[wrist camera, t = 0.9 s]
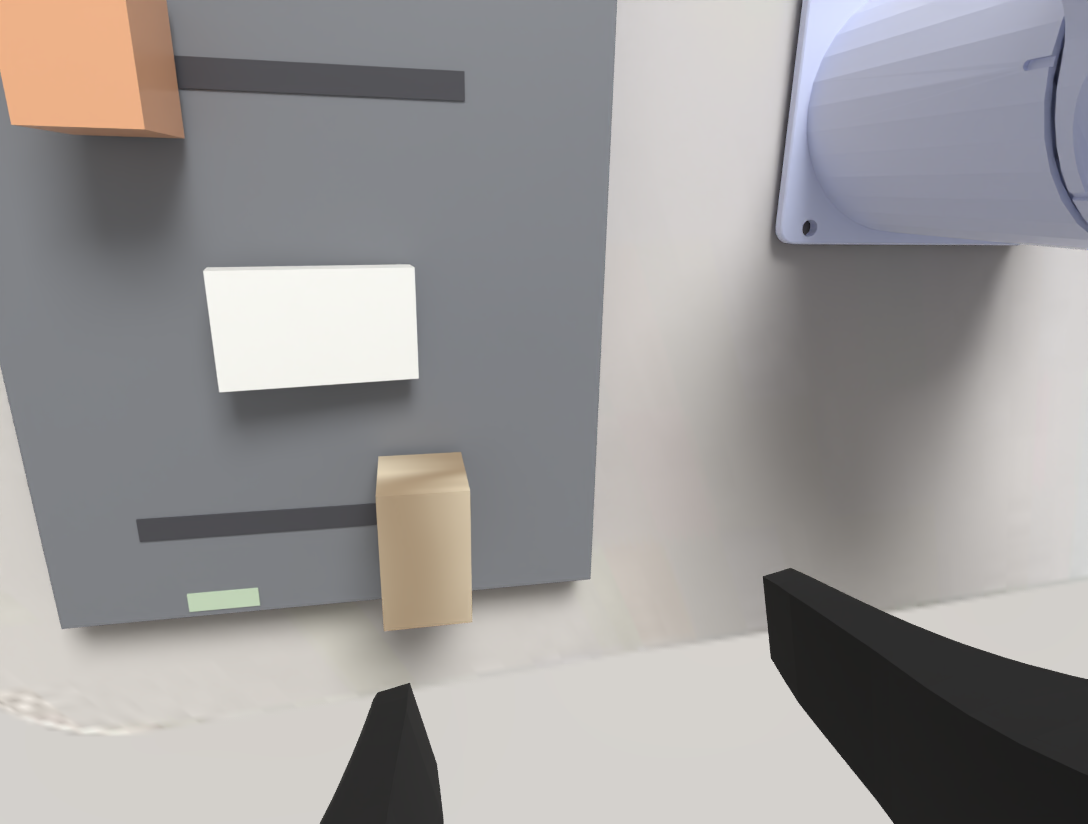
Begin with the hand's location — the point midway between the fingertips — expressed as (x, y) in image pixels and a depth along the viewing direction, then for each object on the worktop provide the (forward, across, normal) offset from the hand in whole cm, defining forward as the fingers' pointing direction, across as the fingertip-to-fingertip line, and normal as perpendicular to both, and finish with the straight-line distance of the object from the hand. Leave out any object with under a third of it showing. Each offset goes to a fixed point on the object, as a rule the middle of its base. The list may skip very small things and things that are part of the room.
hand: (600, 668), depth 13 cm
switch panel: (+10, +4, -7) cm, 13 cm away
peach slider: (+8, +7, -13) cm, 17 cm away
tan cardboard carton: (+8, +3, 0) cm, 9 cm away
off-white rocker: (+8, +4, -6) cm, 11 cm away
